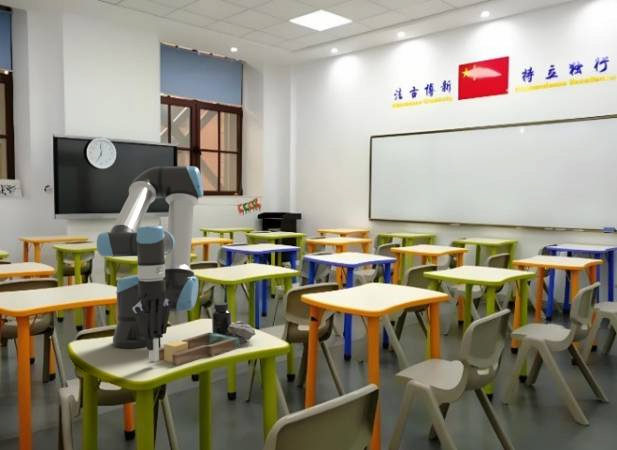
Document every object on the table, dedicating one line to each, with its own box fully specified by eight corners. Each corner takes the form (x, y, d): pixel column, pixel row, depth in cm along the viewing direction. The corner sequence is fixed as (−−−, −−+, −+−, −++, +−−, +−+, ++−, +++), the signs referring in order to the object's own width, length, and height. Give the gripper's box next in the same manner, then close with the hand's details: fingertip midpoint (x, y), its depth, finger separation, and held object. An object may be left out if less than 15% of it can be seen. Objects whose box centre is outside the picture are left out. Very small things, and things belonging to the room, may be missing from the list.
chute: (150, 358, 154) (150, 349, 153) (209, 341, 173) (209, 332, 173) (181, 366, 145) (180, 356, 145) (239, 347, 165) (239, 338, 165)
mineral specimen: (241, 354, 174) (231, 354, 165) (226, 337, 177) (216, 336, 167) (261, 334, 175) (252, 332, 165) (246, 317, 177) (236, 315, 168)
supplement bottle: (219, 334, 182) (218, 301, 182) (235, 335, 180) (234, 302, 179) (208, 338, 176) (207, 304, 176) (225, 340, 173) (224, 305, 173)
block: (164, 360, 152) (163, 344, 152) (177, 356, 156) (177, 340, 156) (175, 363, 149) (174, 346, 149) (188, 358, 153) (187, 342, 153)
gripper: (140, 283, 138) (142, 368, 139) (178, 277, 148) (180, 356, 149) (124, 281, 142) (126, 364, 143) (162, 275, 153) (164, 353, 154)
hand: (154, 360), depth 146 cm, fingers closed
